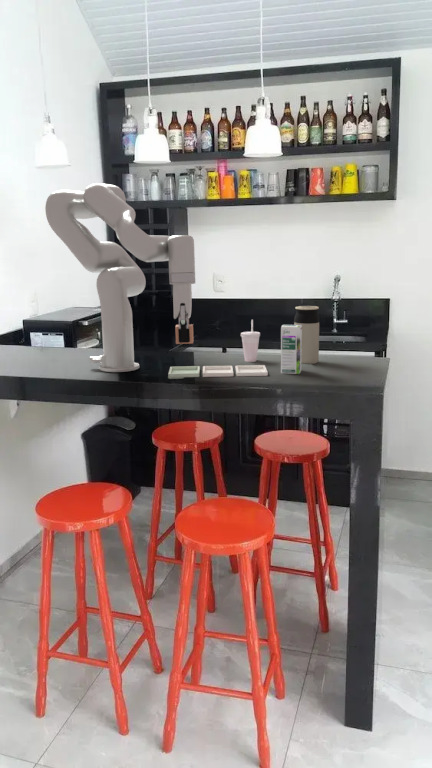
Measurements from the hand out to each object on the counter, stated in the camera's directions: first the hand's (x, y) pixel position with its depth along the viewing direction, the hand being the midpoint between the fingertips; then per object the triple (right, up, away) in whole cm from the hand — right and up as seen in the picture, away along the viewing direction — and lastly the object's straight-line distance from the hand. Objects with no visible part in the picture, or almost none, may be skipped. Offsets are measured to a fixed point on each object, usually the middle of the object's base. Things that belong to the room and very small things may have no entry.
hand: (184, 340), depth 192 cm
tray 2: (+10, -10, +3) cm, 14 cm away
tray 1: (0, -10, +2) cm, 11 cm away
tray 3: (+20, -10, +3) cm, 22 cm away
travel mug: (+39, -6, +19) cm, 44 cm away
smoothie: (+21, -6, +21) cm, 30 cm away
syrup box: (+32, -10, +3) cm, 33 cm away
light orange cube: (0, -1, 0) cm, 1 cm away
